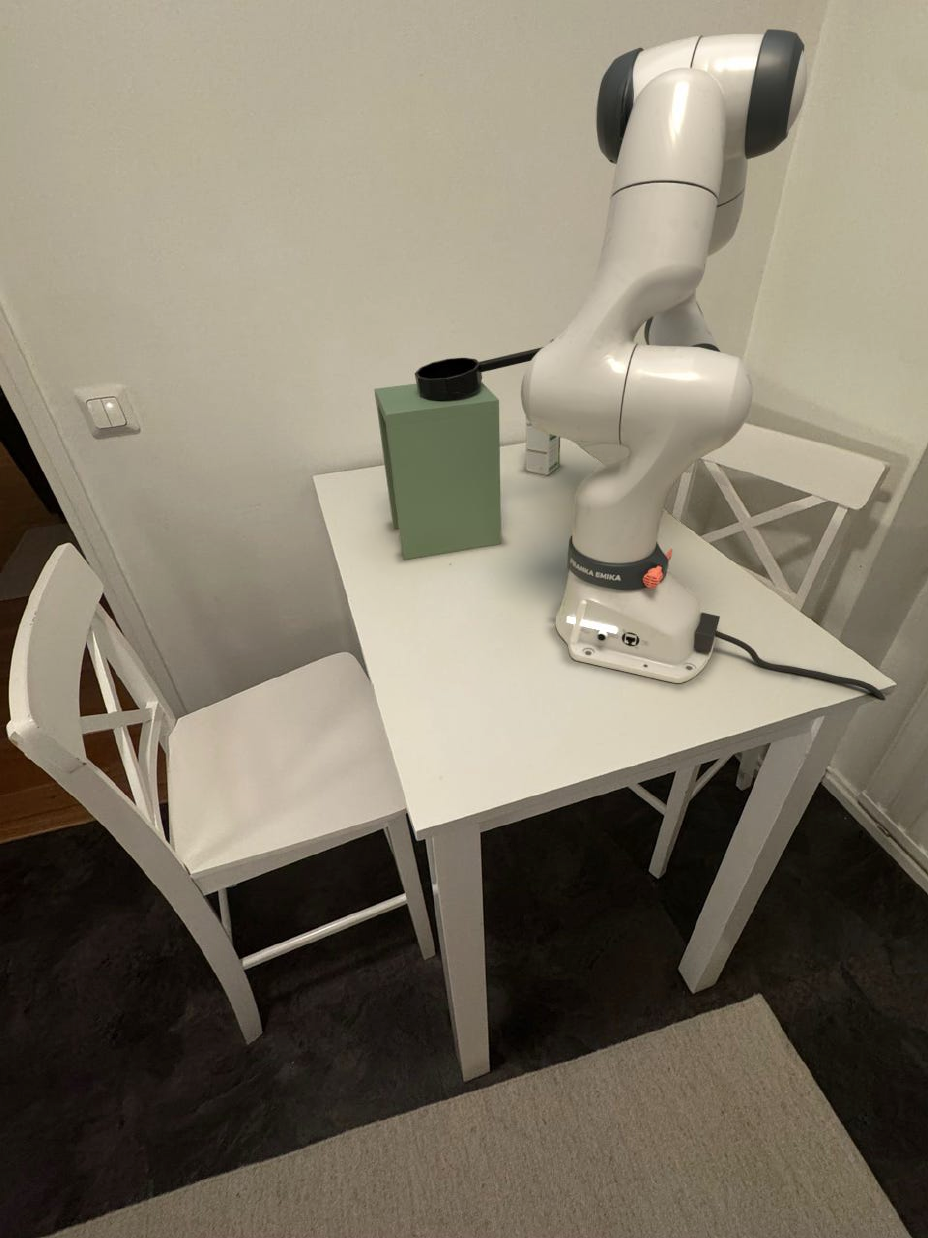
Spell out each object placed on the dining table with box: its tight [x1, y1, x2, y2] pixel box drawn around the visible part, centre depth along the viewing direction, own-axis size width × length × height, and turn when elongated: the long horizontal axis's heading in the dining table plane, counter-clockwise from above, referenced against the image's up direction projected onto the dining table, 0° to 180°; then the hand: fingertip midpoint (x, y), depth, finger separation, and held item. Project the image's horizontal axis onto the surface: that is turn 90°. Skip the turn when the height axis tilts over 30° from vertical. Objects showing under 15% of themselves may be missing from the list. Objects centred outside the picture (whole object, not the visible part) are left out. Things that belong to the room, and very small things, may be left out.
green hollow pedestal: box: [373, 382, 502, 561], centre depth 107 cm, size 18×14×26 cm
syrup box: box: [525, 416, 561, 476], centre depth 132 cm, size 6×6×14 cm
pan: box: [414, 346, 544, 400], centre depth 99 cm, size 26×10×3 cm, turn 104°
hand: (553, 345), depth 99 cm, fingers closed on pan, 2 cm apart
